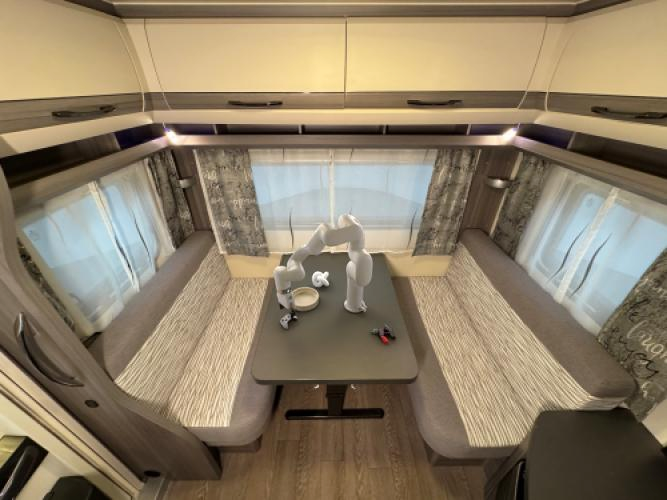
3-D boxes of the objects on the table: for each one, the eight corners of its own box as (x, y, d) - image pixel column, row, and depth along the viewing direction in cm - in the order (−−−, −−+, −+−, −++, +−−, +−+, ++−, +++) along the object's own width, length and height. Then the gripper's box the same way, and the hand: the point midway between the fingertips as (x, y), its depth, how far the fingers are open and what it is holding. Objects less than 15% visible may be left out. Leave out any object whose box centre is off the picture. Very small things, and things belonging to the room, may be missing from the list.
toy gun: (370, 330, 141) (371, 324, 138) (392, 329, 141) (393, 323, 139) (373, 345, 132) (374, 338, 130) (396, 344, 133) (397, 337, 130)
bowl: (324, 301, 162) (324, 295, 160) (302, 316, 151) (302, 310, 149) (306, 288, 173) (305, 283, 171) (284, 301, 162) (283, 296, 160)
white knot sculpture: (318, 277, 184) (318, 266, 179) (333, 281, 179) (333, 271, 174) (310, 286, 175) (309, 275, 171) (325, 291, 170) (325, 280, 166)
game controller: (287, 329, 141) (280, 320, 140) (282, 331, 144) (276, 323, 144) (298, 318, 148) (292, 310, 148) (293, 320, 151) (287, 312, 151)
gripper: (299, 292, 131) (303, 316, 140) (280, 278, 142) (284, 301, 150) (288, 299, 126) (292, 324, 135) (268, 284, 137) (273, 308, 146)
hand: (287, 312), depth 143 cm, fingers open, 9 cm apart
